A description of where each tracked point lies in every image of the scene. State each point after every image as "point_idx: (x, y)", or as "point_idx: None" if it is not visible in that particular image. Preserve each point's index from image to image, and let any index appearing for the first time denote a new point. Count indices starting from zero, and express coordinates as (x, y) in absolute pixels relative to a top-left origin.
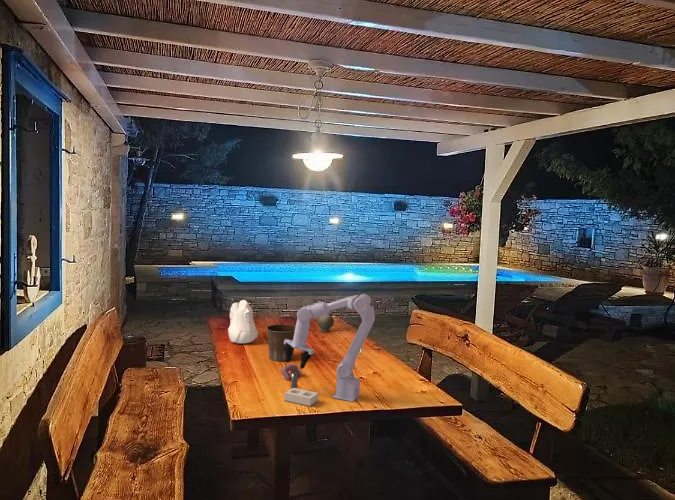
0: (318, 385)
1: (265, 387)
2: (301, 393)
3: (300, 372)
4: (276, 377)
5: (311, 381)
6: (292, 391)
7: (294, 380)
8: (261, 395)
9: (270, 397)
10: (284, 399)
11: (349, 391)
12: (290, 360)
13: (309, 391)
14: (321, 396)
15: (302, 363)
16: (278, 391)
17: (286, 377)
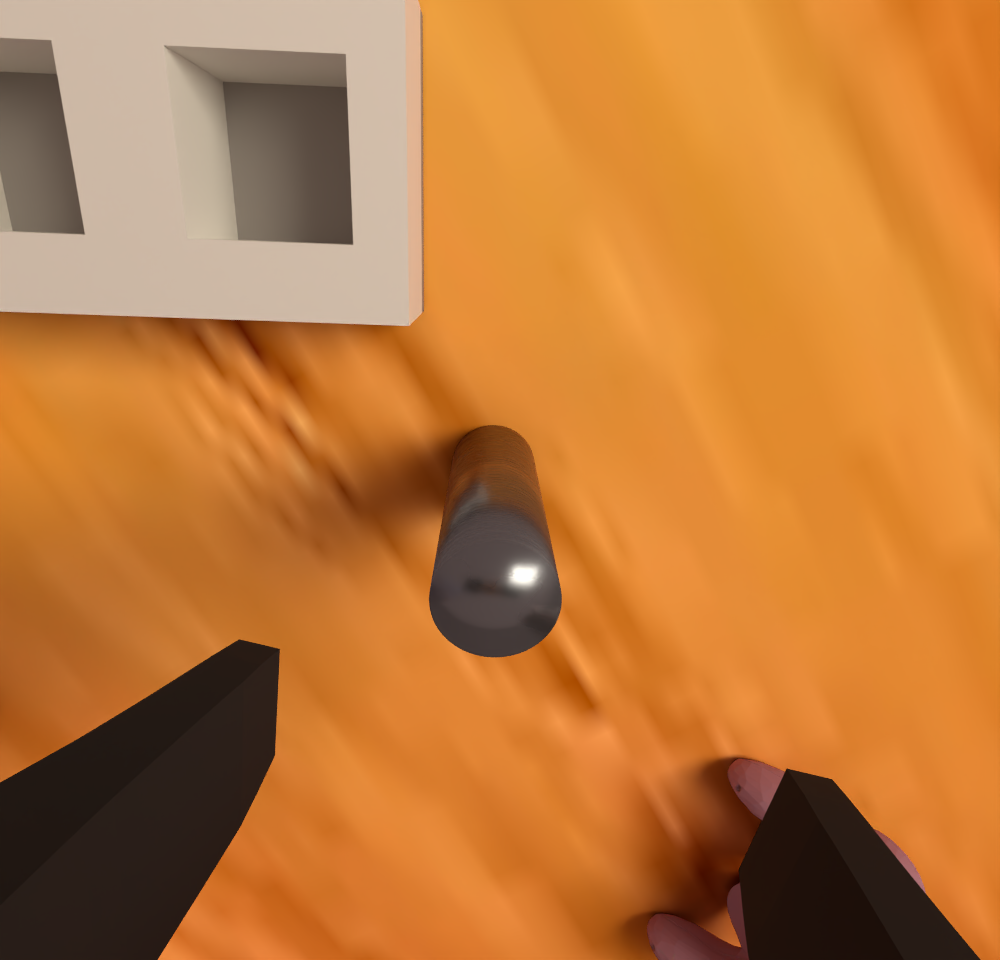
0: (341, 783)
1: (930, 419)
2: (104, 111)
3: (673, 958)
4: (909, 779)
5: (477, 846)
6: (356, 197)
7: (465, 495)
8: (876, 68)
9: (703, 60)
10: (417, 4)
11: None
12: (748, 921)
13: (58, 298)
14: (85, 491)
15: (60, 750)
16: (695, 370)
17: (775, 782)
